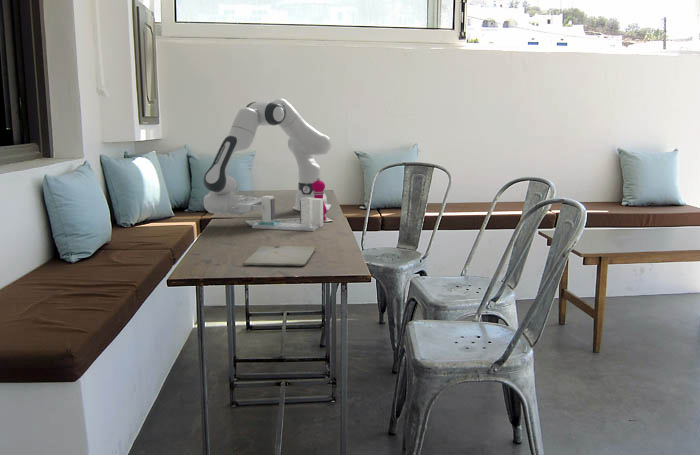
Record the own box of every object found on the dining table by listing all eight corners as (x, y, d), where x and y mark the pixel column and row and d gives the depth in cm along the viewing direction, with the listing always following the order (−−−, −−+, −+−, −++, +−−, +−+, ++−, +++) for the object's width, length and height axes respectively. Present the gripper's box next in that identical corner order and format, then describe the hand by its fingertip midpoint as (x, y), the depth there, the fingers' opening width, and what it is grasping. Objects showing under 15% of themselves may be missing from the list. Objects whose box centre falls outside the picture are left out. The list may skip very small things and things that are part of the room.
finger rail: (259, 224, 279) (258, 194, 276) (319, 227, 271) (318, 196, 269) (252, 228, 271) (251, 197, 269) (313, 231, 264) (312, 199, 261)
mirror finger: (313, 224, 278) (313, 198, 276) (323, 225, 277) (323, 198, 275) (310, 226, 274) (310, 199, 272) (320, 226, 273) (320, 199, 271)
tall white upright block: (266, 222, 275) (265, 195, 273) (275, 223, 274) (274, 196, 272) (262, 224, 272) (261, 197, 269) (272, 224, 270) (271, 197, 268)
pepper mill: (327, 218, 293) (327, 176, 289) (325, 221, 286) (325, 178, 282) (312, 218, 294) (311, 176, 290) (310, 221, 287) (309, 178, 283)
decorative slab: (259, 250, 231) (258, 244, 230) (316, 250, 230) (316, 245, 229) (243, 268, 204) (242, 262, 204) (307, 268, 203) (307, 262, 203)
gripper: (227, 201, 265) (257, 202, 261) (248, 194, 284) (276, 195, 280) (228, 215, 266) (258, 216, 262) (248, 208, 285) (276, 209, 282)
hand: (267, 206), depth 271 cm, fingers open, 8 cm apart
